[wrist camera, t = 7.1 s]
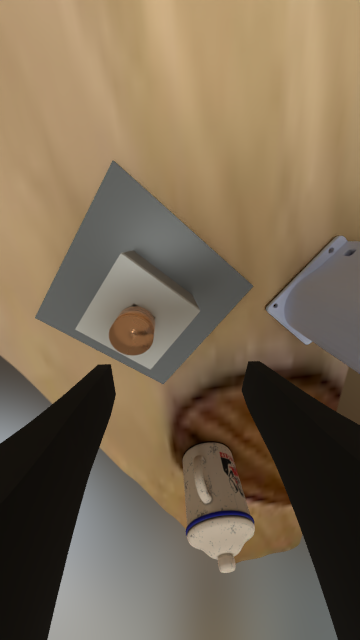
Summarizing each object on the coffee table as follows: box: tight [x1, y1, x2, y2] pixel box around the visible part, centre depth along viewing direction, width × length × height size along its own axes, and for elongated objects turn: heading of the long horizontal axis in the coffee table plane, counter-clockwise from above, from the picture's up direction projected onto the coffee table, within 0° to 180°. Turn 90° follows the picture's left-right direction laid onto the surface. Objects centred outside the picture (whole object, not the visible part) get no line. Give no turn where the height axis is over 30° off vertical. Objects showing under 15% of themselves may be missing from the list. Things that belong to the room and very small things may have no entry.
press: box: [35, 161, 253, 384], centre depth 16 cm, size 16×16×5 cm
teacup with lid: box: [183, 442, 255, 573], centre depth 24 cm, size 12×9×12 cm
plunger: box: [109, 303, 155, 356], centre depth 14 cm, size 5×5×6 cm
